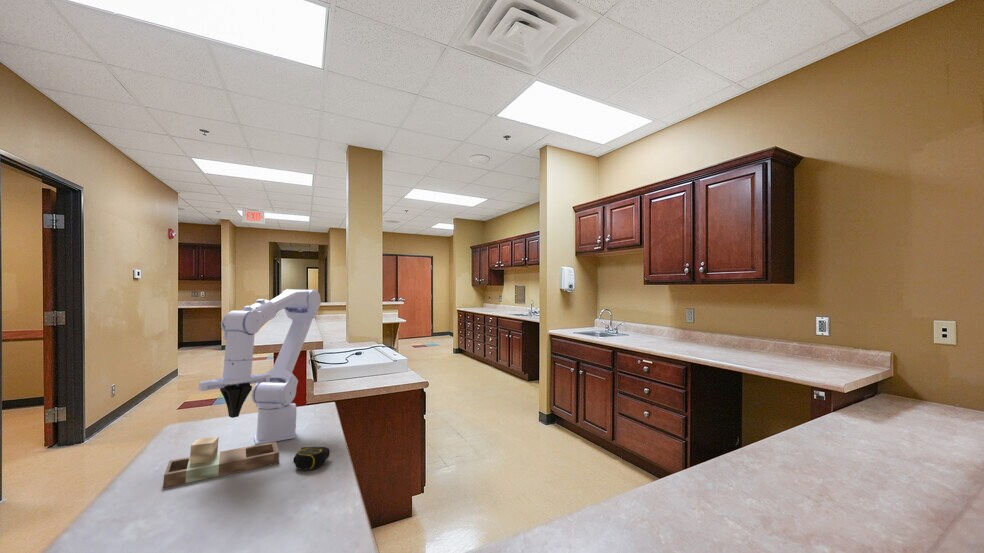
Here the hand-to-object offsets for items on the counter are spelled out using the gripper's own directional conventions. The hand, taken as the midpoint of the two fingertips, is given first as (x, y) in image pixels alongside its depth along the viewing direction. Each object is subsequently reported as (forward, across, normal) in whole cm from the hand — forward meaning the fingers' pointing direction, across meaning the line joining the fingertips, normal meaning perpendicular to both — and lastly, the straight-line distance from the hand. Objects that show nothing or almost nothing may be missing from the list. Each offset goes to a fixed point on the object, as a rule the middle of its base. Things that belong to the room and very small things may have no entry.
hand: (233, 416), depth 87 cm
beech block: (+8, +6, 0) cm, 10 cm away
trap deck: (+10, +2, +3) cm, 11 cm away
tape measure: (+11, -10, +17) cm, 22 cm away
